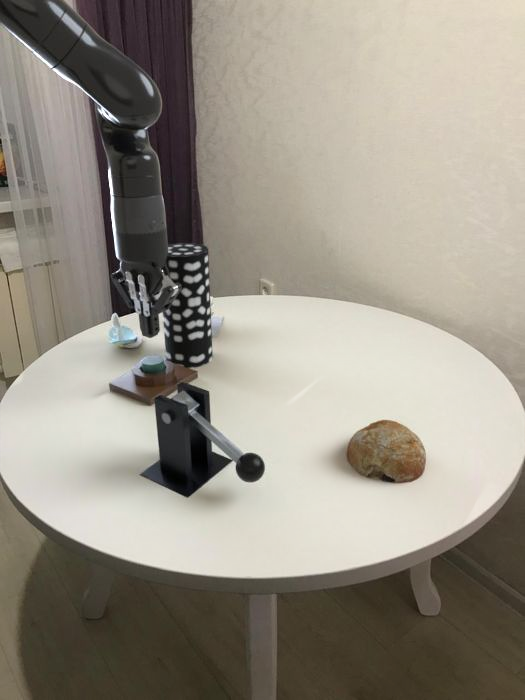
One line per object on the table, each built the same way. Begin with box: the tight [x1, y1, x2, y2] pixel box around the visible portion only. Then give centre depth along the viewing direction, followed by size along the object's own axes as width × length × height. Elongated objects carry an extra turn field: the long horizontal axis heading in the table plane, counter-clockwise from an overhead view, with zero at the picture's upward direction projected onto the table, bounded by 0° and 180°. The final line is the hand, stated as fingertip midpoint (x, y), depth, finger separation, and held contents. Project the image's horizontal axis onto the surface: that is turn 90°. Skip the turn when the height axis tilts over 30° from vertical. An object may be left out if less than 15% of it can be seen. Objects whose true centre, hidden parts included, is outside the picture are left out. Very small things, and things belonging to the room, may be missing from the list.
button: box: [140, 354, 165, 374], centre depth 94 cm, size 4×4×2 cm
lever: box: [170, 390, 266, 484], centre depth 70 cm, size 14×3×3 cm, turn 56°
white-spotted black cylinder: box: [162, 242, 214, 369], centre depth 102 cm, size 8×8×20 cm
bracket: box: [139, 382, 234, 499], centre depth 73 cm, size 8×9×12 cm
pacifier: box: [108, 312, 143, 349], centre depth 110 cm, size 7×6×6 cm
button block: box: [108, 358, 199, 407], centre depth 95 cm, size 11×9×4 cm
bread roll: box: [345, 419, 427, 484], centre depth 76 cm, size 10×10×8 cm
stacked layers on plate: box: [210, 295, 224, 338], centre depth 118 cm, size 10×9×6 cm
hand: (150, 335), depth 92 cm, fingers closed
